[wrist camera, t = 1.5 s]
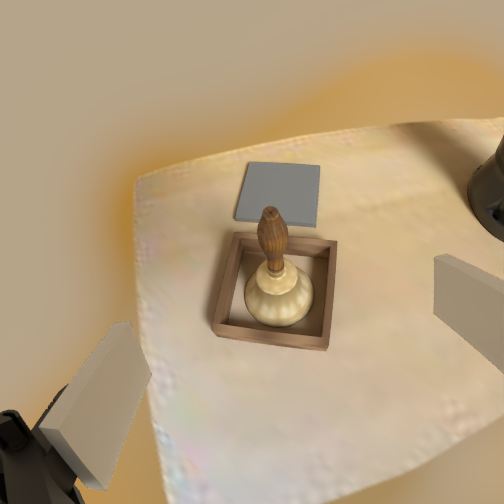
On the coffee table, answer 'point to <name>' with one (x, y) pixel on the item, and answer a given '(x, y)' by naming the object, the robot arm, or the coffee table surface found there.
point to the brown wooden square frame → (268, 337)
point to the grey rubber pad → (280, 192)
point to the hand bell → (277, 278)
